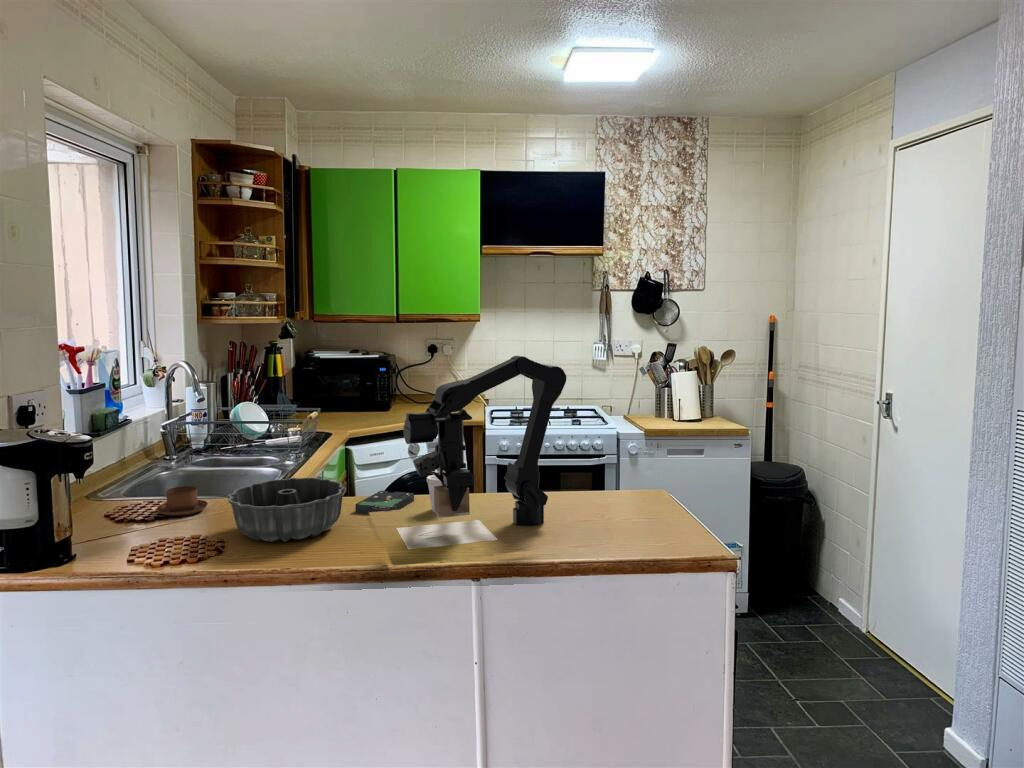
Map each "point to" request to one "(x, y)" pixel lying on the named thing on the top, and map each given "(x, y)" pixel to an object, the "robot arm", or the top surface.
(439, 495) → the block
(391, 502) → the disk drive
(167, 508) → the cup and saucer
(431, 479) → the smoothie
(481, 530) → the birch board
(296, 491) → the bundt pan
